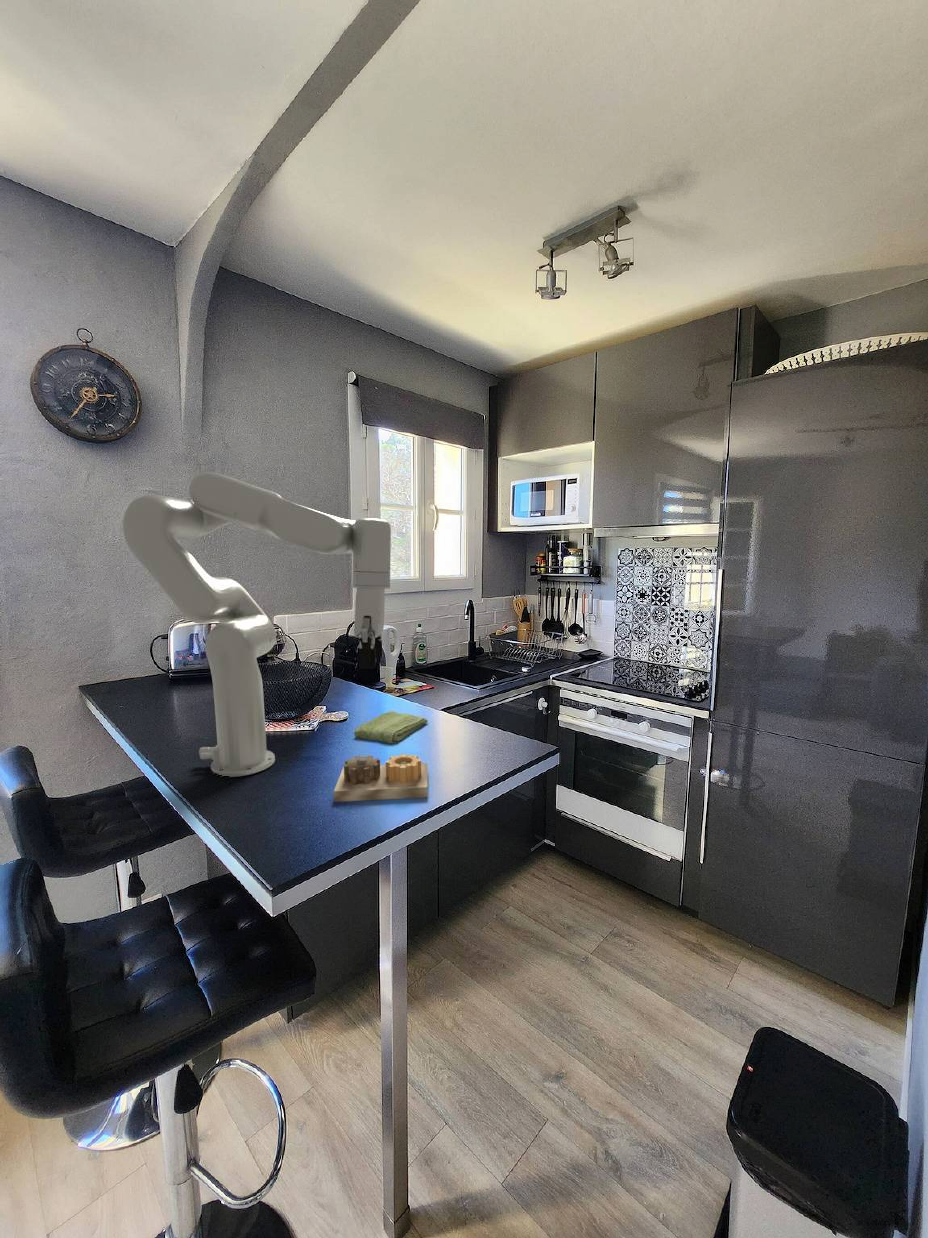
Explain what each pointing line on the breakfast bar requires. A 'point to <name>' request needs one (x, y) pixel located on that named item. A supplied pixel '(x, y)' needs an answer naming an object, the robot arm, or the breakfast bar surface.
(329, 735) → the breakfast bar surface
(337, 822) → the breakfast bar surface
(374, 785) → the gear board
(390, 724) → the washcloth
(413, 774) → the loose gear
